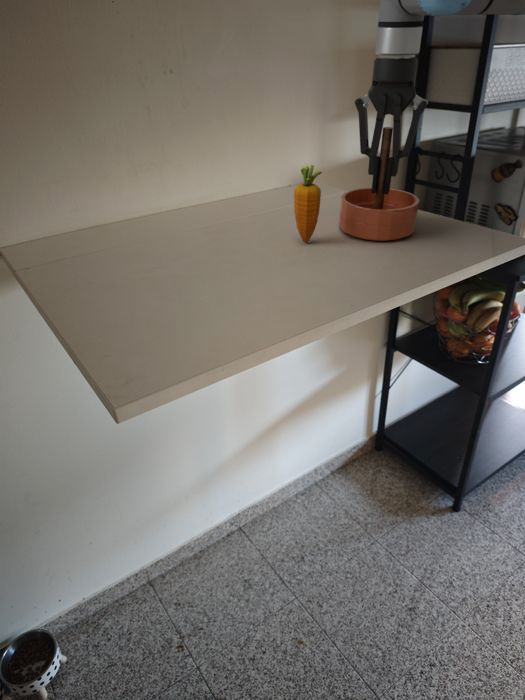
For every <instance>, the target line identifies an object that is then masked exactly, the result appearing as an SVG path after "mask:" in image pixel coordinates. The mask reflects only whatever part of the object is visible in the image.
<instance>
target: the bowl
mask: <svg viewBox="0 0 525 700" xmlns="http://www.w3.org/2000/svg"><path fill="white" fill-rule="evenodd" d="M371 191H372V187H361V188H359V187H358V188H354V189H349V190H348V191H345V192H344V193H343V194H342V195H341V196H340V206H339V218H338V219H339V221H338V222H339V223H338V225H339V229H340V230H341V231H343V232H344V233H345V234H348V235H350V236H352V237H354V238H358V239H360V240H361V239H362V240H366V241H376V242H388V241H395V240H400V239H403V238H406V237H410V235H412V234H413V233H415V230H416V224H417V218H418V212H419V206H420V199H419V197H418V195H416V194H413V193H412V192H408V191H405V190H402V189H397V188H391V187H390V191H389V193H388V195H387V194H385V197H384V205H383V208H386V209H371V208H373V207H374V205H375V196H376V193H371Z"/></svg>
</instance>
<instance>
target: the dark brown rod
mask: <svg viewBox="0 0 525 700" xmlns="http://www.w3.org/2000/svg"><path fill="white" fill-rule="evenodd" d="M392 141H393V127H391V126H383V128H382V133H381V141H380V151H379V152H380V153H379V156H380V161H379V169H378V178H377V187H376V196H375V205H374V207H373V208H371V209H386V208H383V205H384V197H385V194H384V189H385V181H386V173H387V165H388V159H389V158H390V157H391V155H390V154H391V146H392Z"/></svg>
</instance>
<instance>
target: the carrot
mask: <svg viewBox="0 0 525 700" xmlns="http://www.w3.org/2000/svg"><path fill="white" fill-rule="evenodd" d="M314 169H315V165H314V164H310V166H309V165H305V166H304V167H301V168H300V172H301V175H302V179H303V183H300V184H299V185H297V186H296V187H295V188H294V191H293V192H294V193H293V195H294V196H293V204H294V205H293V206H294V209H293V210H294V216H295V217H294V218H295V223H296V229H297V231H298V234H299V237H300V238H301V241H302V242H303V243H304V244H307V243H309V241H310V240H311V238H312V236H313V235H314V232H315V229H316V227H317V223H318V219H319V215H320V209H321V208H320V206H321V197H322V192H321V188H320V187H319V186H318V185H317V184H315V183H314V181H315V179H316V178H318V176H319V175H321V174H323V172H322V171H321V170H320V169H319V170H317V171H315V172H314Z"/></svg>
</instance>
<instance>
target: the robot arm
mask: <svg viewBox="0 0 525 700" xmlns="http://www.w3.org/2000/svg"><path fill="white" fill-rule="evenodd" d="M378 8H379V10H378V20H377V22H378V23H377V28H376V38H375V49H374V54H375V55H377V57H375V59H374V60H373V70H372V80H371V85H370V87H369V90H368V93H367V94H365V95H363V96H360V97H357V98H356V99H355V100H354V105H355V107H356V110H357V114H358V128H359V131H358V132H359V150H360V154H361V155H364V156H367V157H368V159H369V160H368V169H367V174H368V175H369V176H372V181H371V188H372V191H371V193H376V187H377V178H378V169H379V161H380V155H378V154H379V150H380V149H379V147H380V145H381V140H382V133H383V127H384V122H385V119H386V116H387V115H391V116H393V118H392V119H393V127H392V128H393V131H392V151H391V152H392V153H391V155H392V156H389V159H388V165H387V173H386V181H385V189H384V194H387V195H388V193H389V191H390V188H391V183H392V177H396V176H397V175H398V172H399V167H400V166H399V165H400V160H401V159H402V158H407V157H408V156H409V155H410V153H411V150H412V148H413V143H414V140H415V136H416V134H417V130H418V127H419V123H420V120H421V116H422V114H423V112H424V111H425V109H426V107H427V106H428V104H429V100H428V99H427V98H422V97H421V96H419V95H418V94H417V88H416V77H417V70H418V63H419V60H418V58H417V57H416V55H418V54H419V53H420V50H421V43H422V36H423V29H424V20H425V16H433V17H440V16H442V17H447V16H464V15H465V16H466V15H467V16H468V15H509V16H519V15H520V16H521V15H523V14H525V0H379V7H378ZM369 102H371V104H372V106H373V107H374V110H375V111H376V117H375V124H374V129H373V135H372V139H371V145H370V142H369V121H368V120H369V119H368V107H369V106H370V103H369ZM412 102H413V106H412V108H413V110H414V113H413V115H412V119H411V122H410V126H409V129H408V132H407V137H406V139H405V143H404V146H403V148H402V127H403V126H402V125H403V113H404V111H405V110H407V108H408V107H409V105H410V104H411V103H412Z"/></svg>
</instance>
